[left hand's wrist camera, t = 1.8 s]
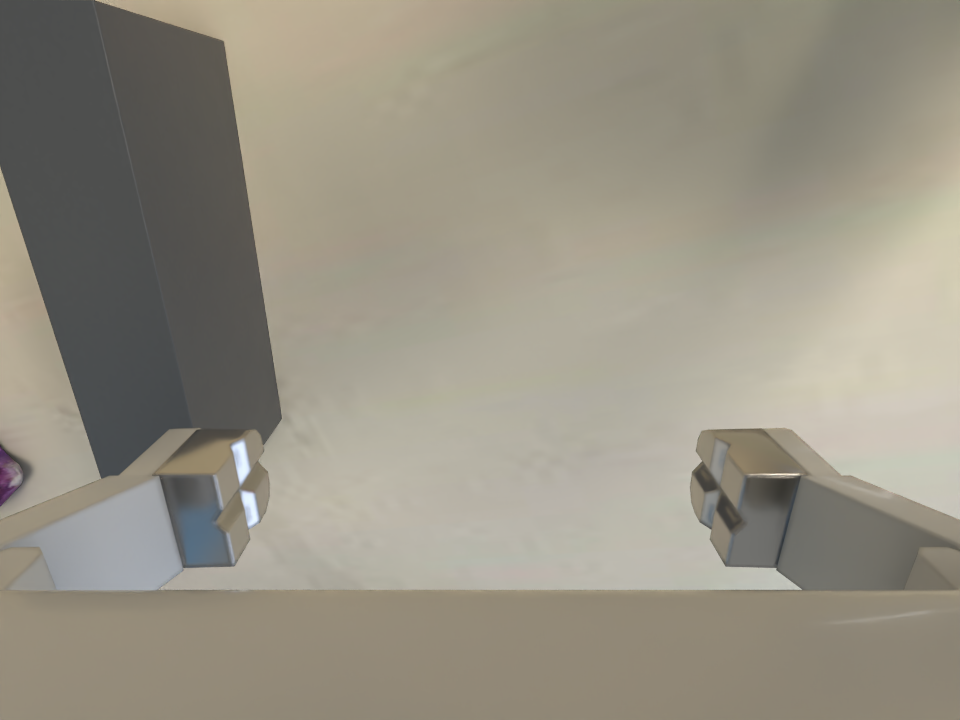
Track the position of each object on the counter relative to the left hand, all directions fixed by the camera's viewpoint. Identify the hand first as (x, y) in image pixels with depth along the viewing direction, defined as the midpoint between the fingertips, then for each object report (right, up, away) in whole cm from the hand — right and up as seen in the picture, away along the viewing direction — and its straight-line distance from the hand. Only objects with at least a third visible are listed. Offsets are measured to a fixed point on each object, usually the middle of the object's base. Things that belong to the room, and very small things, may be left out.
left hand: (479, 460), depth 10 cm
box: (-19, +9, +29) cm, 36 cm away
